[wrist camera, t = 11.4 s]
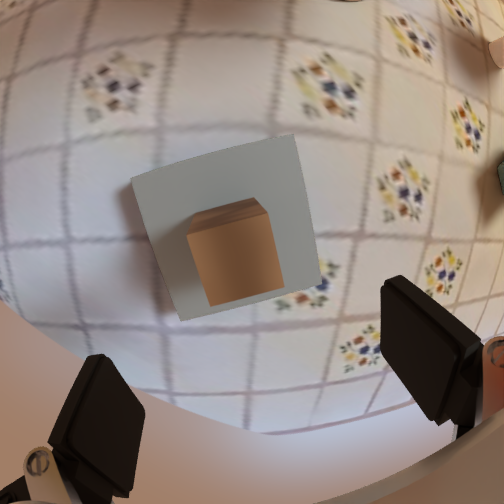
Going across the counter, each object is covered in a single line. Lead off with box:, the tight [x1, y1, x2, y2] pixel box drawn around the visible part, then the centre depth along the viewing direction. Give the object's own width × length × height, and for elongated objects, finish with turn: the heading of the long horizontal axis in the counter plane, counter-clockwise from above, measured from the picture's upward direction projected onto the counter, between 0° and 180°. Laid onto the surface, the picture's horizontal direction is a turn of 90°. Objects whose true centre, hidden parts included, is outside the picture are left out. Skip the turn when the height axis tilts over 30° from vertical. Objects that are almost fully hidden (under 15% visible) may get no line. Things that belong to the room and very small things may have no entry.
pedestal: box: [130, 134, 322, 321], centre depth 26 cm, size 14×14×4 cm
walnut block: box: [186, 197, 285, 307], centre depth 21 cm, size 5×5×7 cm
